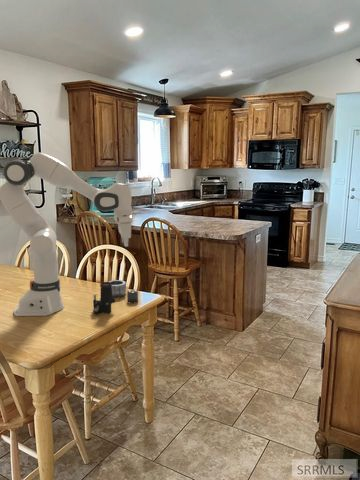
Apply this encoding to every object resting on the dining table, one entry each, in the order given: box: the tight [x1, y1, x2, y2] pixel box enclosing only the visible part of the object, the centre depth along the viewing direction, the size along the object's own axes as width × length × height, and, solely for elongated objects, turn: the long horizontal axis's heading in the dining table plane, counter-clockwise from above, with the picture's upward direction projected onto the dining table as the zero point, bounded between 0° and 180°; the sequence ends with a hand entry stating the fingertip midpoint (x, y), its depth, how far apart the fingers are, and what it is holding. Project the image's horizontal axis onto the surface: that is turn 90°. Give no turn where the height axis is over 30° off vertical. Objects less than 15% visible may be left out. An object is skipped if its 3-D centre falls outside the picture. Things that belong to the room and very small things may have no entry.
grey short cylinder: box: [108, 279, 127, 299], centre depth 206 cm, size 10×10×6 cm
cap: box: [126, 289, 139, 304], centre depth 197 cm, size 5×5×6 cm
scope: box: [92, 281, 116, 315], centre depth 182 cm, size 8×14×10 cm
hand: (125, 244), depth 191 cm, fingers open, 8 cm apart
